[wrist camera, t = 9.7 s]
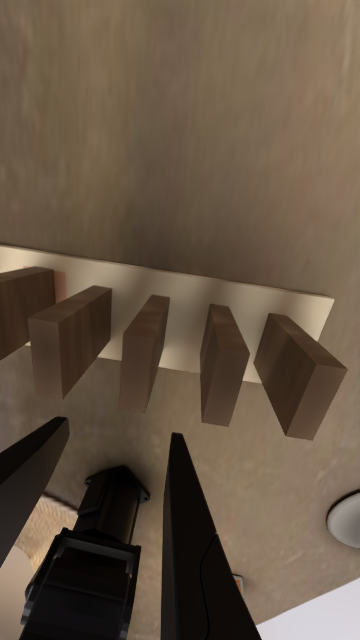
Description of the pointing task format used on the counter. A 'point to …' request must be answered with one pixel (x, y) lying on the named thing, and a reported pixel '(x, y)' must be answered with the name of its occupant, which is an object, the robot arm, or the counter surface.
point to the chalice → (346, 521)
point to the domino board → (174, 303)
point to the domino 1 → (22, 304)
